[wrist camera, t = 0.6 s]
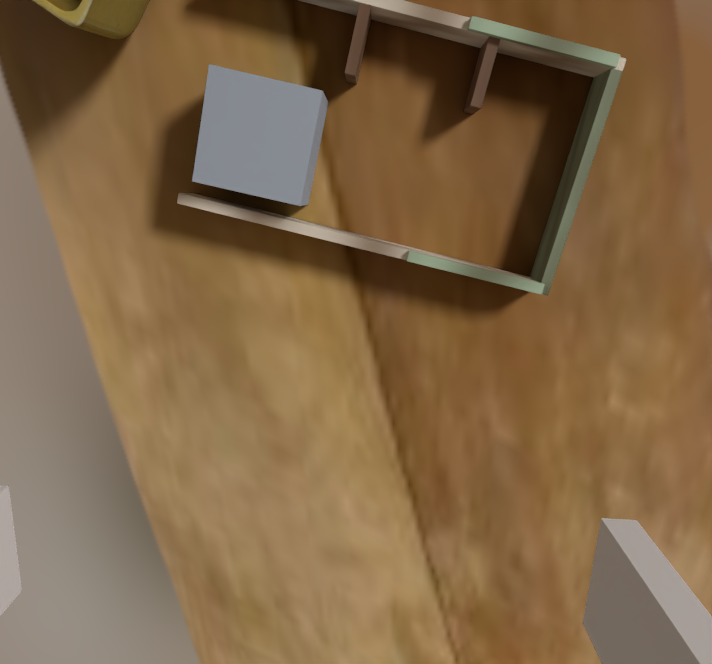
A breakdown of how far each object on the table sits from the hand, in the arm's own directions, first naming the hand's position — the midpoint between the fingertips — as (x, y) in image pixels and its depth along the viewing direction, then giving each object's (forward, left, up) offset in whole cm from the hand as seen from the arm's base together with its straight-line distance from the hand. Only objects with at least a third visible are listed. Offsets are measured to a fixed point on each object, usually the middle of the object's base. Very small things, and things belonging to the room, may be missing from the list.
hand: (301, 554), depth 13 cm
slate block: (-11, -4, -24) cm, 27 cm away
